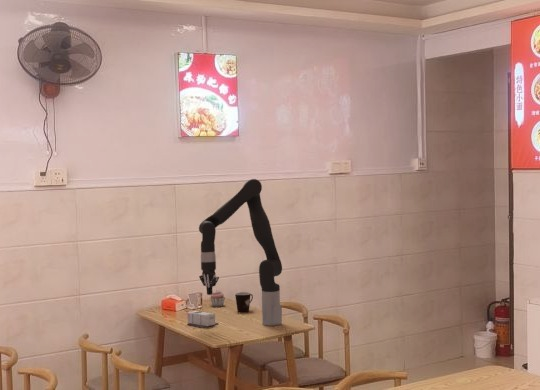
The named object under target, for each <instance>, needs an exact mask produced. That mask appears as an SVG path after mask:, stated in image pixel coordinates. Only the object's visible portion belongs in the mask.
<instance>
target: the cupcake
mask: <svg viewBox="0 0 540 390" xmlns="http://www.w3.org/2000/svg"><path fill="white" fill-rule="evenodd" d="M212 292H213V293H212V295H210V297H209V299H210V302H211V306H212V307H215V308H218V307H219V308H221V307H223V306H224V302H225V300H226V297H225V295H224V293H223V292H222V291H221V290H220V289H218V288H216V290H214V291H212Z"/></svg>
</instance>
